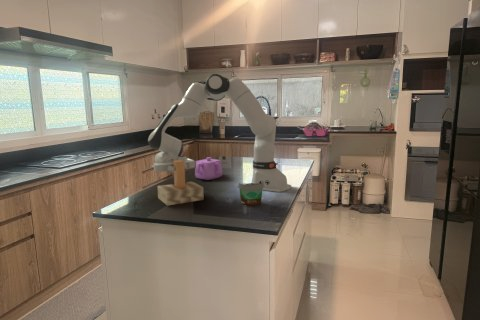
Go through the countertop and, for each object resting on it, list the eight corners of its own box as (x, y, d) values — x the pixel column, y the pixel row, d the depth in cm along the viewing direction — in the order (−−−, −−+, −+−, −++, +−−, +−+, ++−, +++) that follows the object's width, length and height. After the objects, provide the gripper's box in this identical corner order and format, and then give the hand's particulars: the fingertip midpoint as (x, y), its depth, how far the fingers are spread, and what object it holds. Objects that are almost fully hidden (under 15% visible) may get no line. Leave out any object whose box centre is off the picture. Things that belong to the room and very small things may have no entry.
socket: (192, 192, 173) (192, 181, 172) (203, 199, 161) (203, 187, 160) (158, 197, 164) (157, 186, 163) (167, 205, 152) (166, 192, 151)
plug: (182, 187, 164) (181, 159, 162) (185, 189, 161) (184, 161, 158) (174, 189, 162) (173, 160, 160) (177, 190, 159) (176, 161, 156)
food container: (241, 208, 148) (241, 186, 146) (237, 204, 154) (237, 182, 152) (267, 205, 151) (268, 184, 150) (263, 201, 157) (263, 181, 155)
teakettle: (195, 180, 199) (195, 160, 197) (194, 174, 216) (194, 155, 213) (224, 179, 202) (223, 159, 200) (221, 173, 218) (221, 154, 216)
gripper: (149, 159, 165) (157, 164, 153) (188, 155, 175) (199, 159, 163) (150, 172, 166) (158, 177, 154) (188, 167, 176) (199, 172, 164)
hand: (179, 168), depth 159 cm, fingers closed on plug, 4 cm apart
